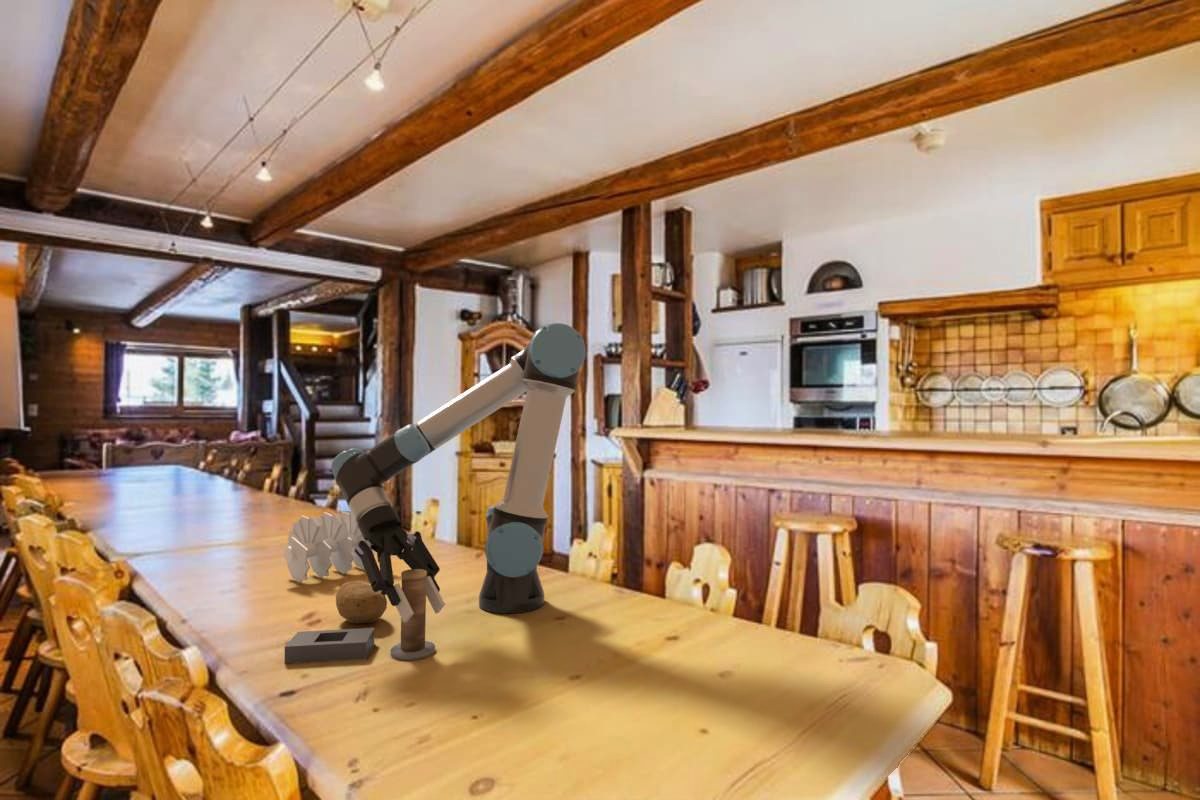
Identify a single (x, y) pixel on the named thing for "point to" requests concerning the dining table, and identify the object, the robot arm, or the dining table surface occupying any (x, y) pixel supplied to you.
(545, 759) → the dining table surface
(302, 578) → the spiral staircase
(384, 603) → the potato
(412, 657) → the coaster
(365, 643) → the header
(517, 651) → the dining table surface
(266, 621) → the dining table surface
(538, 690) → the dining table surface
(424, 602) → the plug
